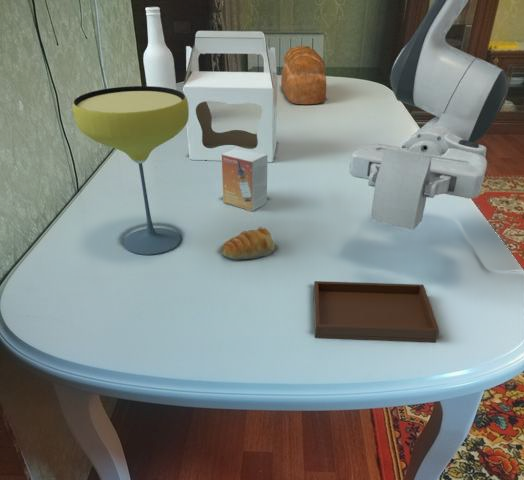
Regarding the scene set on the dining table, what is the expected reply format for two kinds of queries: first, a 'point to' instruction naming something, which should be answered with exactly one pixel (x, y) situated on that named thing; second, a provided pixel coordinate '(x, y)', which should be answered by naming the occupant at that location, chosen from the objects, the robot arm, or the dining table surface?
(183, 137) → the dining table surface
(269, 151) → the gable box
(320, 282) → the tray
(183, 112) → the cocktail glass
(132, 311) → the dining table surface
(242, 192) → the small box
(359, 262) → the dining table surface
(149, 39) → the alcohol
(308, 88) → the bread
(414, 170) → the grey rectangular block
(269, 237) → the pastry
